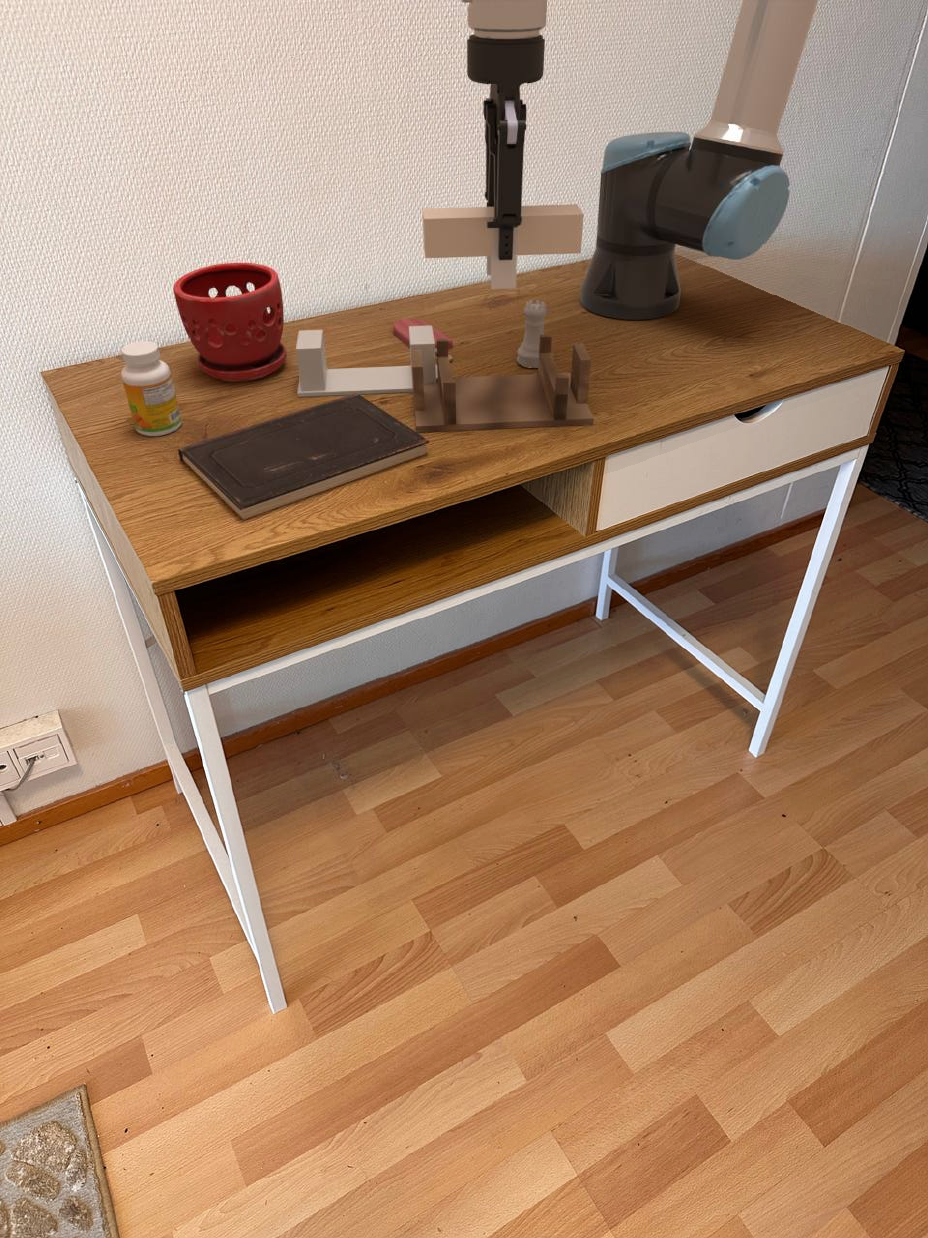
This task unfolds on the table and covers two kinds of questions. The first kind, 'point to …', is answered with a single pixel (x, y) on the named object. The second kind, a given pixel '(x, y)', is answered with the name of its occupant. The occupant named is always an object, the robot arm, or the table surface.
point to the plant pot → (233, 320)
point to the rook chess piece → (532, 334)
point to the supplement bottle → (149, 390)
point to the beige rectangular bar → (471, 237)
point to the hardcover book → (301, 454)
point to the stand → (360, 380)
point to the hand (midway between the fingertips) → (500, 280)
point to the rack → (502, 395)
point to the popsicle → (403, 325)
